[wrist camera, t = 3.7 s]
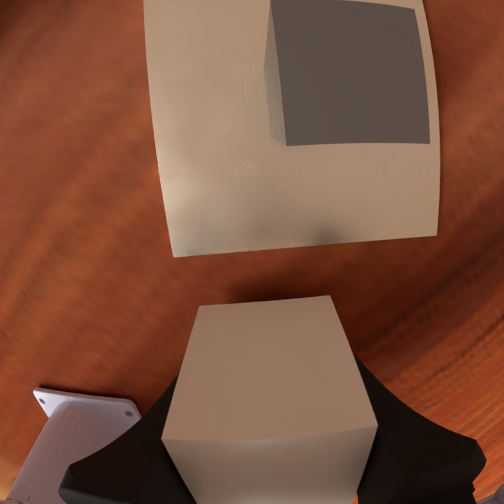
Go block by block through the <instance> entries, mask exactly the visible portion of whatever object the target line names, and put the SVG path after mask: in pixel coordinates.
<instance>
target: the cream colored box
mask: <svg viewBox="0 0 504 504" xmlns="http://www.w3.org/2000/svg"><path fill="white" fill-rule="evenodd" d="M377 427H378V424H377V421H376V418H375V415H374V412H373V409H372V406H371V403H370V400H369V397H368V395H367V392H366V389H365V386H364V383H363V381H362V378H361V375H360V372H359V370H358V367H357V364H356V361H355V359H354V356H353V353H352V351H351V348H350V345H349V343H348V340H347V338H346V335H345V332H344V330H343V327H342V325H341V322H340V319H339V317H338V314H337V312H336V309H335V307H334V304H333V302H332V299H331V297H330V295H328V296H318V297H308V298H297V299H286V300H274V301H262V302H249V303H235V304H220V305H204V306H199V309H198V312H197V316H196V319H195V322H194V325H193V329H192V332H191V335H190V339H189V342H188V346H187V349H186V352H185V356H184V359H183V363H182V366H181V370H180V373H179V377H178V380H177V384H176V387H175V391H174V394H173V398H172V401H171V405H170V408H169V412H168V416H167V419H166V423H165V427H164V430H163V434H162V438H161V439H162V441H163V443H164V445H165V447H166V449H167V451H168V453H169V455H170V457H171V459H172V460H173V462H174V464H175V466H176V468H177V470H178V471H179V473H180V475H181V477H182V479H183V480H184V482H185V484H186V486H187V487H188V489H189V491H190V492H191V494H192V496H193V498H194V499H195V501H196V502H197V504H352V502H353V500H354V497H355V494H356V492H357V489H358V486H359V483H360V481H361V478H362V475H363V472H364V469H365V466H366V463H367V460H368V457H369V454H370V451H371V447H372V444H373V441H374V437H375V434H376V430H377Z"/></svg>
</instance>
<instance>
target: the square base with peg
mask: <svg viewBox="0 0 504 504" xmlns="http://www.w3.org/2000/svg"><path fill="white" fill-rule="evenodd" d="M144 23H145V41H146V56H147V69H148V81H149V92H150V102H151V111H152V120H153V129H154V137H155V145H156V153H157V160H158V167H159V174H160V181H161V187H162V194H163V200H164V206H165V212H166V218H167V224H168V230H169V235H170V241H171V246H172V251H173V257H183V256H195V255H207V254H219V253H231V252H243V251H255V250H267V249H279V248H291V247H303V246H315V245H327V244H339V243H351V242H363V241H375V240H387V239H399V238H412V237H424V236H436V235H437V227H438V213H439V193H440V133H439V113H438V99H437V88H436V79H435V70H434V62H433V55H432V49H431V42H430V37H429V31H428V26H427V21H426V16H425V11H424V6H423V2H422V0H144Z"/></svg>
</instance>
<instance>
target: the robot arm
mask: <svg viewBox="0 0 504 504" xmlns="http://www.w3.org/2000/svg"><path fill="white" fill-rule="evenodd" d="M352 353H353V352H352ZM353 356H354V359H355V361H356V364H357V367H358V370H359V372H360V375H361V378H362V381H363V383H364V386H365V389H366V392H367V395H368V397H369V400H370V403H371V406H372V409H373V412H374V415H375V418H376V421H377V424H378V427H377V430H376V434H375V437H374V441H373V444H372V447H371V451H370V454H369V457H368V460H367V463H366V466H365V469H364V472H363V475H362V478H361V481H360V483H359V486H358V489H357V496H358V504H504V484H503V485H501V486H500V487H499V488H498V489H497V491H496V492H495V493H494V494H492V495H490V496H488V497H486V498H484V499H482V500H480V501H478V502H476V501H475V499H474V496H473V494H472V493H473V492H474V491H475V488H474V485H473V483H472V482H473V481H474V480H475V478H476V477H477V476H478V475H479V473H480V472H481V471H482V469H483V468H484V466H485V464H486V460H487V459H486V457H485V455H484V453H483V451H482V449H481V447H480V446H479V444H478V443H477V441H476V440H475V439H472V438H469V437H466V436H463V435H461V434H458V433H455V432H453V431H450V430H448V429H446V428H444V427H442V426H439V425H438V424H436V423H434V422H432V421H430V420H428V419H427V418H425V417H423V416H422V415H420V414H418V413H417V412H415V411H414V410H412V409H411V408H410V407H408V406H407V405H406V404H404V403H403V402H402V401H400V400H399V399H398V398H397V397H396V396H395V395H393V394H392V393H391V392H390V391H389V390H388V389H387V388H386V387H385V386H384V385H383V384H382V383H381V382H380V381H379V380H378V379H377V378H376V377H375V376H374V375H373V374H372V373H371V372H370V371H369V370H368V369H367V368H366V367H365V366H364V364H363V363H362V362H361V361H360V360H359V359H358V357H357V356H356V355H355V354H354V353H353ZM179 373H180V372H179ZM179 373H178V375H177V376H176V377H175V379H174V380H173V382H172V383H171V384H170V386H169V387H168V388H167V389H166V391H165V392H164V393H163V394H162V396H161V397H160V398H159V399H158V400H157V402H156V403H155V404H154V405H153V406H152V407H151V408H150V409H149V410H148V412H147V413H146V414H145V415H144V416H143V417H141V415H140V413H139V411H138V409H137V407H136V405H135V404H134V402H132V401H131V400H129V399H122V398H111V397H101V396H92V395H84V394H76V393H69V392H62V391H56V390H50V389H44V388H39V387H36V388H35V390H34V392H33V393H34V395H35V397H36V398H37V400H38V402H39V403H40V405H41V406H42V408H43V409H44V411H45V413H46V414H47V416H48V417H49V419H48V421H47V422H46V424H45V426H44V428H43V430H42V431H41V433H40V435H39V437H38V438H37V440H36V442H35V444H34V446H33V448H32V449H31V451H30V453H29V455H28V457H27V459H26V461H25V463H24V464H23V466H22V468H21V470H20V472H19V474H18V476H17V478H16V480H15V482H14V484H13V486H12V488H11V490H10V492H9V494H8V496H7V499H6V500H0V504H196V501H195V499H194V498H193V496H192V494H191V492H190V491H189V489H188V487H187V486H186V484H185V482H184V480H183V479H182V477H181V475H180V473H179V471H178V470H177V468H176V466H175V464H174V462H173V460H172V459H171V457H170V455H169V453H168V451H167V449H166V447H165V445H164V443H163V441H162V439H161V438H162V434H163V430H164V427H165V423H166V419H167V416H168V412H169V408H170V405H171V401H172V398H173V394H174V391H175V387H176V384H177V380H178V377H179Z"/></svg>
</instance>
